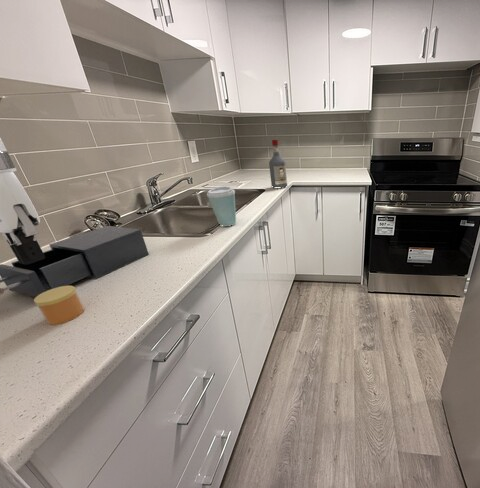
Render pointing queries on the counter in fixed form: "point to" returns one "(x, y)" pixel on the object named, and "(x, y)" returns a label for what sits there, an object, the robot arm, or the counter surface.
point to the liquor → (277, 168)
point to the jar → (59, 304)
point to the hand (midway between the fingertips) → (33, 260)
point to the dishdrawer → (107, 248)
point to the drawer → (45, 272)
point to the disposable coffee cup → (223, 204)
